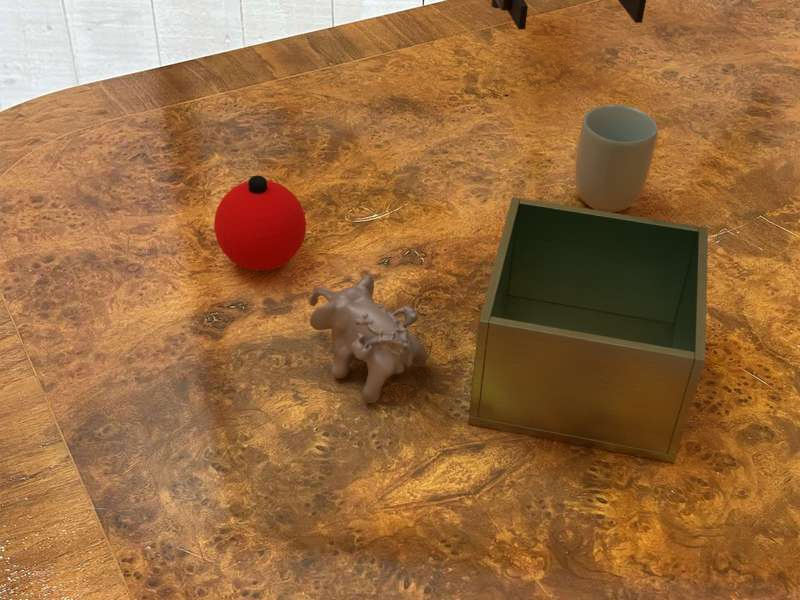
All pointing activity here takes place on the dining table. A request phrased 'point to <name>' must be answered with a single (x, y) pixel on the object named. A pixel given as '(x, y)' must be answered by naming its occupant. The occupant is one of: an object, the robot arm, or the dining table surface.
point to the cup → (614, 156)
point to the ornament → (260, 224)
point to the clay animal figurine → (367, 334)
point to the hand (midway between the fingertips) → (582, 14)
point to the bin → (592, 329)
